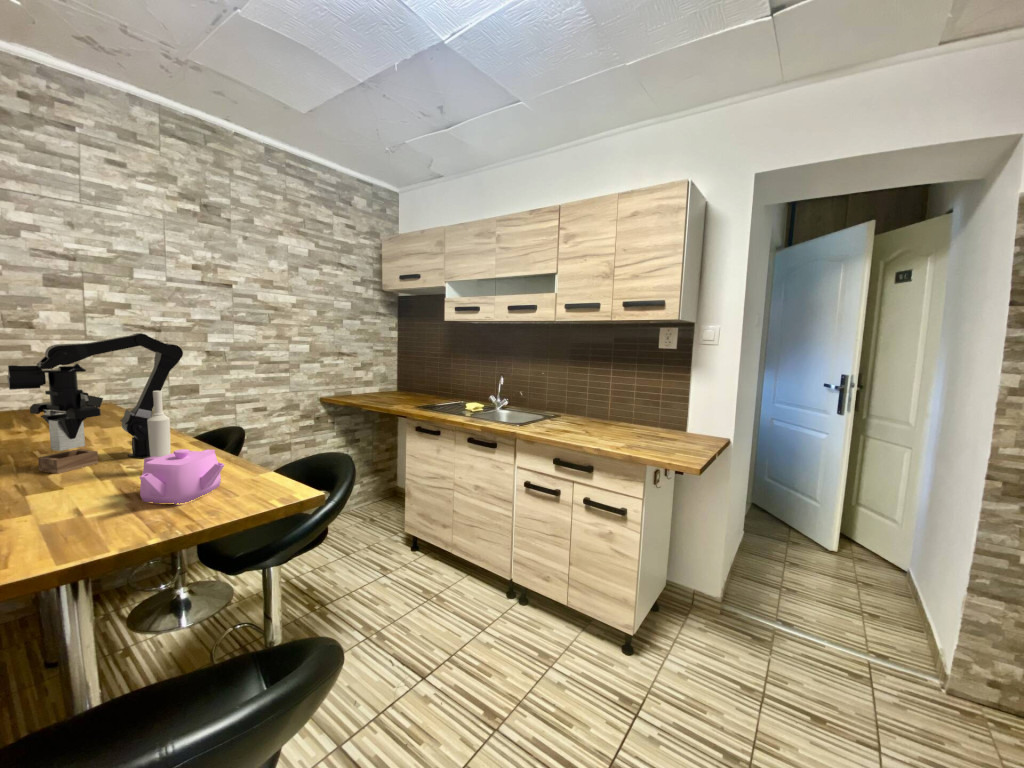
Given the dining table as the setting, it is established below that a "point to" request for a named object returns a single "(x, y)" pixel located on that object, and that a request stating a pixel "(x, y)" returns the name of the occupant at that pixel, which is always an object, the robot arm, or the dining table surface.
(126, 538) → the dining table surface
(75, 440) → the light grey squat block
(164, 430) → the bottle
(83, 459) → the post block
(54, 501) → the dining table surface
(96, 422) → the dining table surface
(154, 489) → the teakettle
